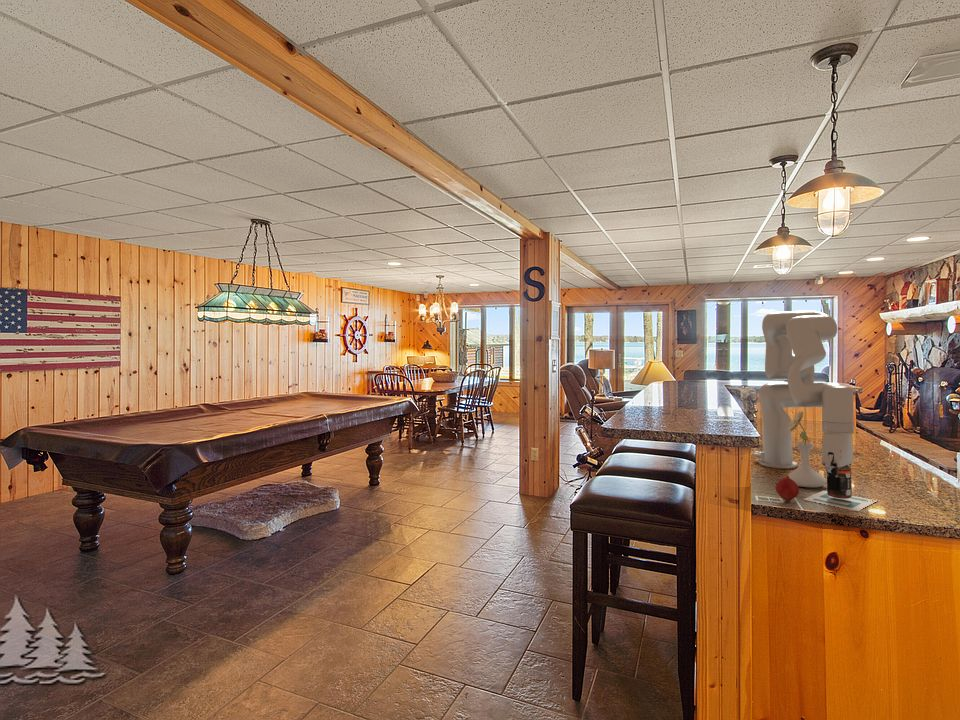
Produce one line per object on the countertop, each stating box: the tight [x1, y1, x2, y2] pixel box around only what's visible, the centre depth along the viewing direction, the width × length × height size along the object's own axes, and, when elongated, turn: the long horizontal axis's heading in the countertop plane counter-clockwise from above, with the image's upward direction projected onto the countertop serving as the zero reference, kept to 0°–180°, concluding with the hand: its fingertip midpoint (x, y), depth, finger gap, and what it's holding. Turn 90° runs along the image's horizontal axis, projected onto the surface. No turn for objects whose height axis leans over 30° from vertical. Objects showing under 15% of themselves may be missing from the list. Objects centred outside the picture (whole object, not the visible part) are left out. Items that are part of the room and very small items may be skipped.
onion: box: [775, 474, 800, 503], centre depth 148 cm, size 6×6×8 cm
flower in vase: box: [787, 410, 827, 488], centre depth 163 cm, size 13×11×25 cm
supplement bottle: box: [826, 464, 853, 499], centre depth 147 cm, size 6×6×11 cm
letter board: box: [802, 490, 878, 512], centre depth 147 cm, size 14×14×1 cm
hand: (839, 487), depth 147 cm, fingers closed on supplement bottle, 6 cm apart
